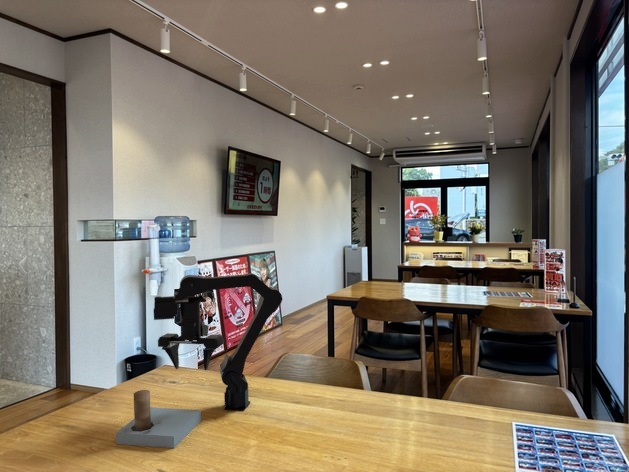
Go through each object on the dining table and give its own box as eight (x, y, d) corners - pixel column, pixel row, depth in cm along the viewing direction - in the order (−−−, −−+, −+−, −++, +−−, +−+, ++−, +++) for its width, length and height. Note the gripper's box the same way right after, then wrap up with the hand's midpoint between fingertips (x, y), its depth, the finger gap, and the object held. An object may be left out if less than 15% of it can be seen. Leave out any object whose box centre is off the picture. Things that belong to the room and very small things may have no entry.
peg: (153, 433, 118) (151, 389, 118) (148, 440, 114) (147, 395, 114) (137, 434, 118) (136, 390, 118) (132, 441, 114) (131, 396, 114)
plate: (201, 420, 126) (200, 410, 126) (174, 448, 110) (173, 436, 110) (149, 417, 129) (149, 407, 129) (116, 444, 113) (116, 432, 113)
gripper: (229, 312, 138) (230, 362, 138) (174, 311, 141) (175, 360, 141) (215, 320, 127) (216, 374, 127) (156, 319, 130) (157, 371, 130)
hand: (191, 369), depth 132 cm, fingers open, 9 cm apart
